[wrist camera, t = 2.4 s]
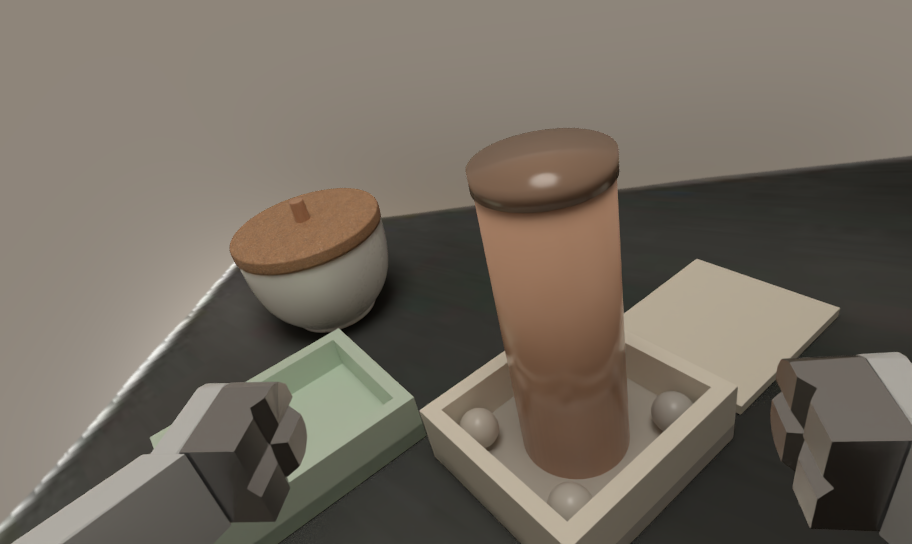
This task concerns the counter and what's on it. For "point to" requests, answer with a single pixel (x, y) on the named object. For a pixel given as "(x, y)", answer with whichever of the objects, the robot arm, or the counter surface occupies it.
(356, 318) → the lidded jar
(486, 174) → the terracotta canister
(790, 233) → the counter surface
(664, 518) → the counter surface
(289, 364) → the sage tray
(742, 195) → the counter surface
